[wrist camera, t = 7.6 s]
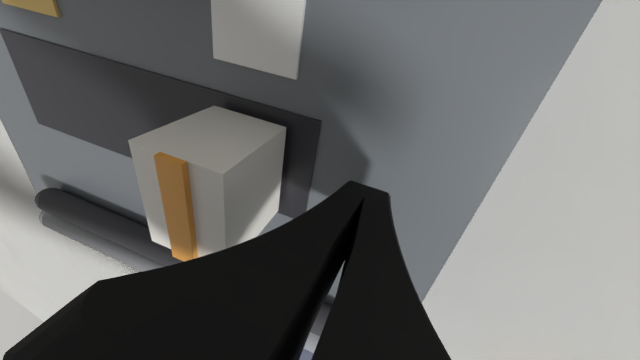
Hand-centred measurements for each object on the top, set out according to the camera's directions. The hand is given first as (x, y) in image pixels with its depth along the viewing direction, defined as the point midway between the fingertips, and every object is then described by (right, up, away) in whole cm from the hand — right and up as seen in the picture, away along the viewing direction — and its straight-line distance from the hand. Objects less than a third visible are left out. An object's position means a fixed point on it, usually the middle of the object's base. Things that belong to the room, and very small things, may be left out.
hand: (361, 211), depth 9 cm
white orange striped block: (-4, +2, +1) cm, 5 cm away
